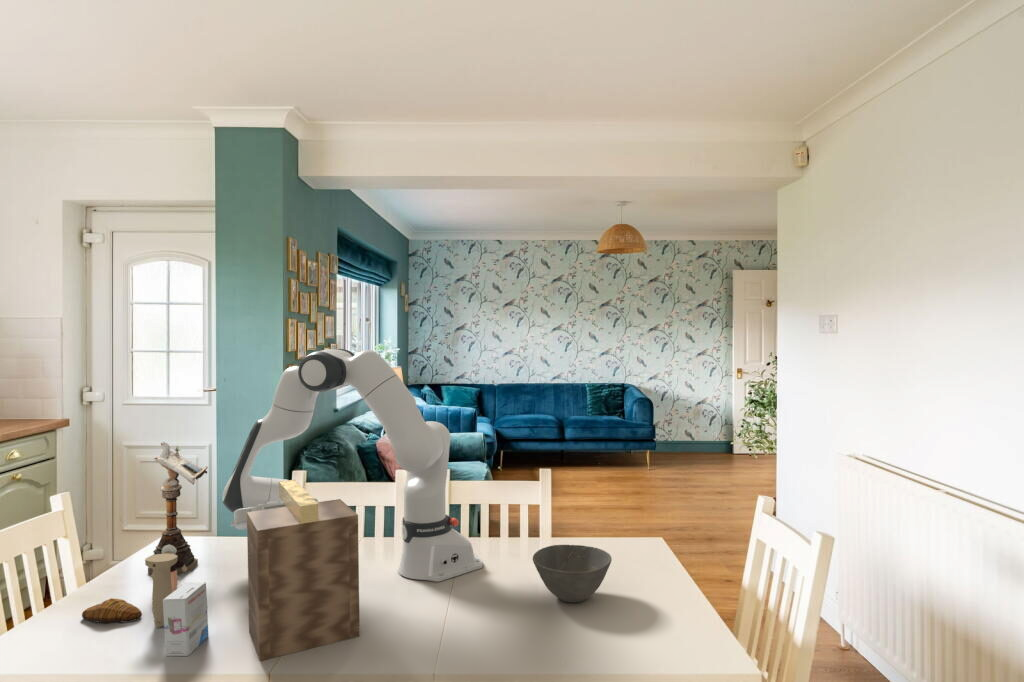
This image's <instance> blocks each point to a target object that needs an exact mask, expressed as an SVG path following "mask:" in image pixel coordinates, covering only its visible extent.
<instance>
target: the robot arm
mask: <svg viewBox="0 0 1024 682" xmlns="http://www.w3.org/2000/svg"><path fill="white" fill-rule="evenodd" d="M347 386H351V387H353V389H354V390H356V392H357V393H358V394H359V396H360V397H361V398H362V400H363V401H364V402H365V404H366V405H367V406H368V408H369V409H370V411H371V412H372V413H373V414H374V416H375V417H376V419H377V420H378V422H379V423H380V425H381V426H382V428H383V430H384V432H385V434H386V436H387V439H388V441H389V443H390V445H391V446H392V449H393V454H394V459H395V461H396V464H397V465H398V466H399V467H400V468H401V469H402V470H405V471H406V472H407V474H406V479H405V483H404V486H403V517H402V524H401V525H402V527H401V536H402V540H403V541H402V543H403V544H402V550H401V551H402V552H401V558H400V561H399V566H398V570H397V571H398V573H399V575H401V576H402V577H405V578H408V579H412V580H423V581H431V582H437V583H438V582H442V581H446V580H448V579H451V578H454V577H457V576H460V575H463V574H467V573H469V572H473V571H476V570H479V569H482V568H483V560H482V559H481V558H480V557H479V556H478V555H477V554H476V553H475V552H474V548H473V545H472V543H471V541H470V540H469V539H468V537H465V536H464V535H463V534H461V533H460V532H458V531H457V530H455V529H454V528H453V527H458V526H459V524H460V522H459V520H458V519H457V518H455V517H452V516H450V515H447V513H446V501H447V500H446V486H447V477H448V469H449V468H448V467H449V458H450V446H451V440H452V439H451V437H452V436H451V433H450V431H449V429H448V428H447V426H446V425H444V424H443V423H441V422H438V421H433V420H430V421H429V420H427V421H425V420H424V417H423V415H422V413H421V412H420V410H419V408H418V404H417V401H416V398H415V396H414V395H413V394H412V392H411V391H410V390H409V389H408V387H407V386H406V384H405V383H404V382H403V380H402V379H401V377H399V375H398V374H397V373H396V371H395V370H394V368H392V367H391V365H390V364H389V363H388V362H387V361H386V360H385V359H384V358H383V357H382V356H381V355H379V354H378V353H377V352H376V351H374V350H372V349H364V350H361V351H359V352H357V353H353V352H352V351H350V350H347V349H344V348H343V349H342V348H338V349H334V348H333V349H331V348H330V349H329V348H327V349H322V350H319V351H313V352H311V353H308V355H306V356H305V357H304V358H303V359H302V360H301V362H300V363H299V365H293V366H290V367H288V368H286V369H285V370H284V371H283V372H282V373H281V376H280V378H279V381H278V382H277V386H276V389H275V392H274V395H273V400H272V404H271V407H270V410H269V411H268V412H267V413H266V415H265V416H264V417H263V418H260V419H258V420H257V421H255V423H254V424H253V426H252V428H251V429H250V432H249V434H248V435H247V436H248V437H247V438H246V441H245V443H244V445H243V448H242V449H241V453H240V455H239V457H238V459H237V463H236V464H235V467H234V469H233V471H232V473H231V476H230V478H229V479H228V481H227V482H226V485H225V486H224V489H223V492H222V504H223V505H224V506H225V507H226V509H228V510H229V511H230V512H231V513H233V517H234V519H233V520H232V521H231V523H230V526H231V527H235V529H236V530H247V512H252V511H259V510H266V509H273V508H280V507H287V506H286V505H285V504H284V503H283V501H282V500H281V499H280V497H279V481H288V480H289V479H284V478H276V477H264V476H263V477H262V476H255V475H251V474H250V473H251V472H252V471H251V470H253V469H252V468H253V467H254V464H255V461H256V459H257V457H258V455H259V453H260V451H261V449H263V448H264V447H266V446H268V445H271V444H272V443H273V444H274V443H276V442H282V441H287V440H291V439H294V438H297V437H298V436H300V435H302V434H303V433H305V432H306V430H308V428H309V427H310V424H311V422H312V419H313V415H314V411H315V406H316V403H317V398H318V396H319V394H320V393H325V392H328V391H335V390H339V389H342V388H344V387H347ZM312 498H313V499H314V500H315V501H316V502H319V500H318V498H315V497H312Z"/></svg>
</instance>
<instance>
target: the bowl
mask: <svg viewBox="0 0 1024 682" xmlns="http://www.w3.org/2000/svg"><path fill="white" fill-rule="evenodd" d="M532 562H533V564H534V566H535V569H536V571H537V572H538V575H539V577H540V579H541V580H542V582H543V584H544V585H545V588H546V589H547V590H548V591H549V592H550V593H551V594H552V595H553V596H554V597H556V598H558V599H559V600H561V601H564V602H566V603H579V602H582V601H586V600H587V599H588V598H589V597H591V596H592V595H593V594H595V593H596V592H597V590H598V589H599V588H600V586H601V585H602V583H603V582H604V579H605V578H606V575H607V572H608V570H609V568H610V566H611V563H612V556H611V555H610V553H609V552H607V551H605V550H603V549H601V548H597V547H594V546H587V545H582V544H581V545H580V544H577V545H576V544H575V545H574V544H552V545H549V546H545V547H542V548H541V549H539V550H537V551H535V553H534V554H533V556H532Z"/></svg>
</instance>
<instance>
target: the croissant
mask: <svg viewBox="0 0 1024 682" xmlns="http://www.w3.org/2000/svg"><path fill="white" fill-rule="evenodd" d="M142 616H143V612H142V611H141V609H140V608H138V607H137V606H135V605H133V604H132V603H129V602H127V601H126V600H125V599H121V598H109V599H106V600H104V601H102V602H101V603H98V604H95V605H92V606H90V607H87V608H86V609H85V610H83V611H82V613H81V617H82V619H83V620H86V621H89V622H96V623H101V624H112V623H127V622H134V621H138V620H140V619H141V618H142Z"/></svg>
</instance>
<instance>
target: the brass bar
mask: <svg viewBox="0 0 1024 682" xmlns="http://www.w3.org/2000/svg"><path fill="white" fill-rule="evenodd" d="M287 480H288V481H279V497H280V499H281V500H282V501H283V503H284V504H285V505H286V506H287V508H288V509H289V510H290V511H291V513H292V514H293V515H294V516H295V518H296V519H297V520H298V521H299V523H300V524H303V523H309V522H316V521H319V519H318V503H317V502H316V501H315V500H314V499H313V498H314V497H312V495H311V494H310V493H308V492H307V490H306V489H305V488H304V487H303V486H302V485H301V484H300V483H299V482H298V481H297V479H290V480H289V479H287Z"/></svg>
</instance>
